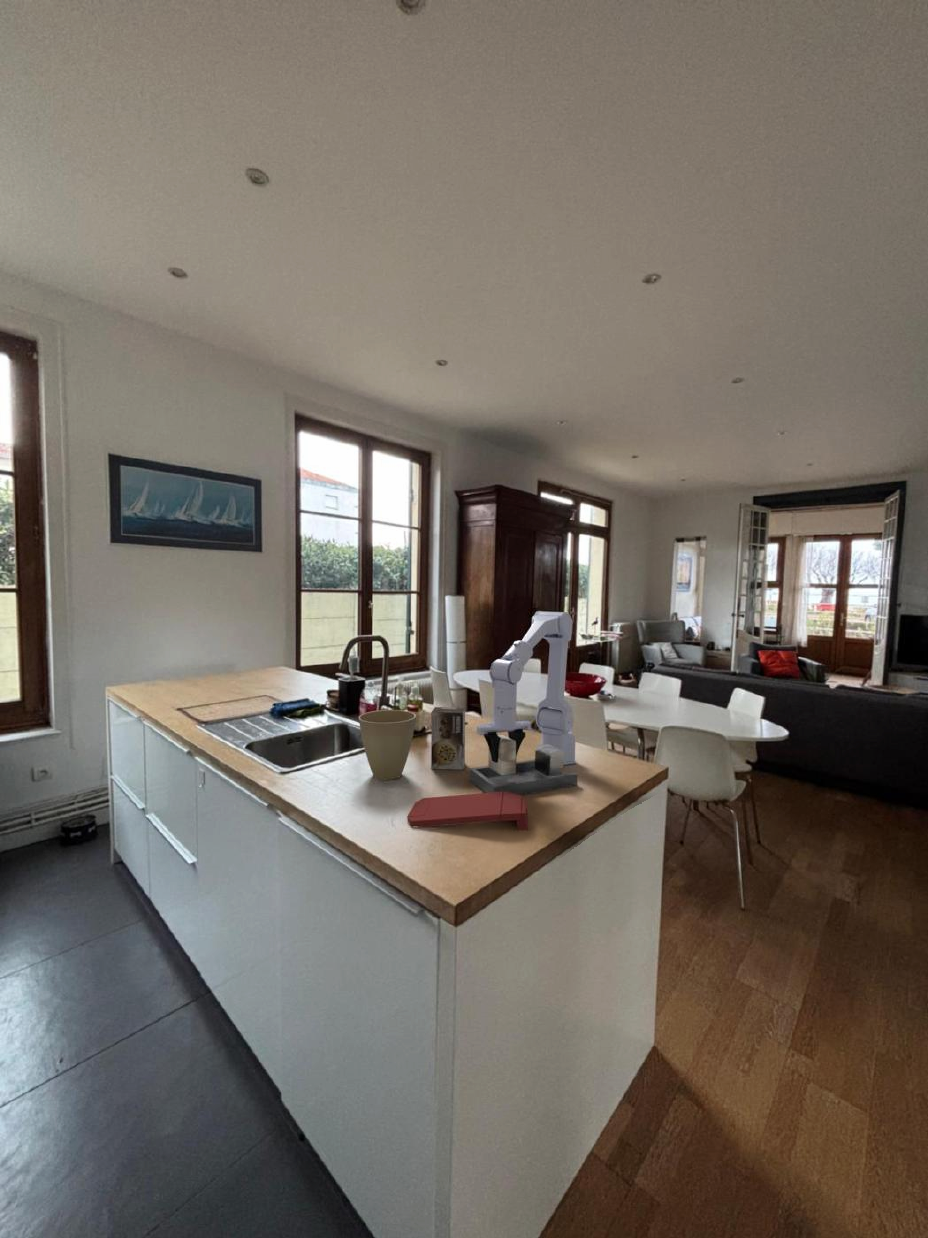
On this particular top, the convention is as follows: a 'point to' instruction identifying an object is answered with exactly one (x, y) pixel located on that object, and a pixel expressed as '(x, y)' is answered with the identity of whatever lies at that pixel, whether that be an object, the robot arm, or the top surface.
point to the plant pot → (387, 741)
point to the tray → (527, 774)
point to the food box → (448, 738)
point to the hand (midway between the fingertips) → (503, 760)
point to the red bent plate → (470, 809)
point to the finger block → (505, 757)
